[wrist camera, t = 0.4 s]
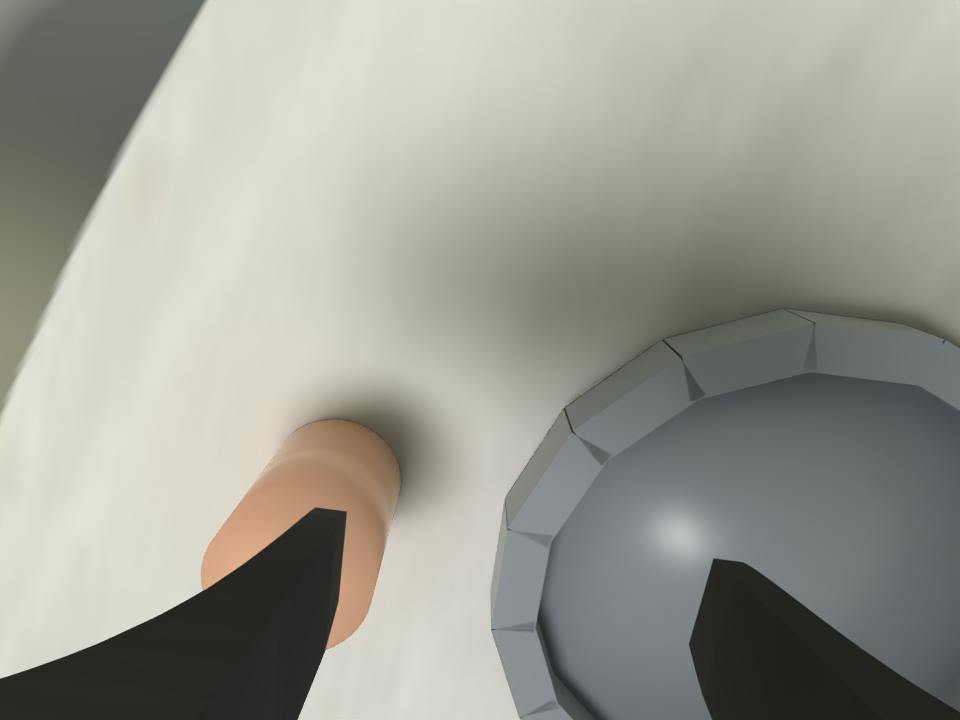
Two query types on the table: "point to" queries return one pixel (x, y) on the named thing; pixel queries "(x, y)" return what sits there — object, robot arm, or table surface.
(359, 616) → the terracotta rounded cylinder
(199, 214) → the table surface
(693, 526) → the round tray
